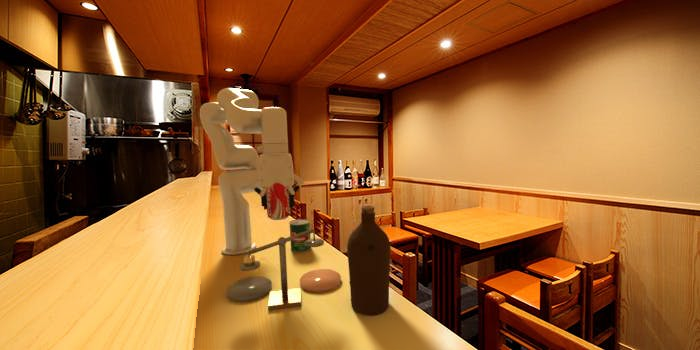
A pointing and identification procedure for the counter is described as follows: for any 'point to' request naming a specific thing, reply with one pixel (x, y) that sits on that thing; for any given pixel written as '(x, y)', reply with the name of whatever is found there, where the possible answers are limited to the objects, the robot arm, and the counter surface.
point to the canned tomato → (297, 228)
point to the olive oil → (369, 265)
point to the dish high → (320, 280)
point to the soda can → (278, 202)
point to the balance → (285, 295)
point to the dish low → (249, 289)
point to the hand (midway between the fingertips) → (278, 207)
